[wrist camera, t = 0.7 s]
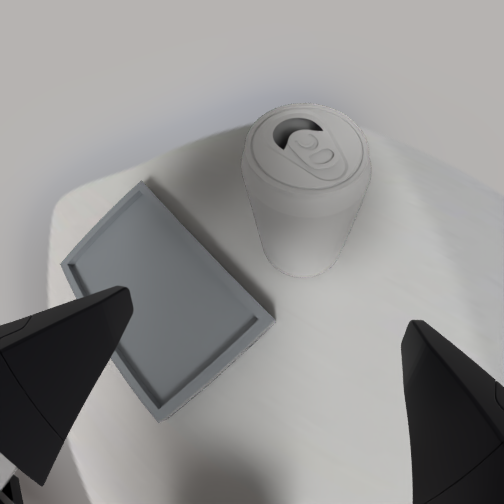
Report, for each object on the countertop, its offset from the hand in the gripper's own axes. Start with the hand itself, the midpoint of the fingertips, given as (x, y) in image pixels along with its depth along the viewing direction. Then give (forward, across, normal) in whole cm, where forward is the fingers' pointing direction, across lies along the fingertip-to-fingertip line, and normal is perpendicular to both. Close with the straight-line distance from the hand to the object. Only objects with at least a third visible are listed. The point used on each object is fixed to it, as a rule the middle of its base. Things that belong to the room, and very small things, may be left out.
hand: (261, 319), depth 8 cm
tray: (+11, +11, +8) cm, 17 cm away
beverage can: (+15, -1, +4) cm, 16 cm away
